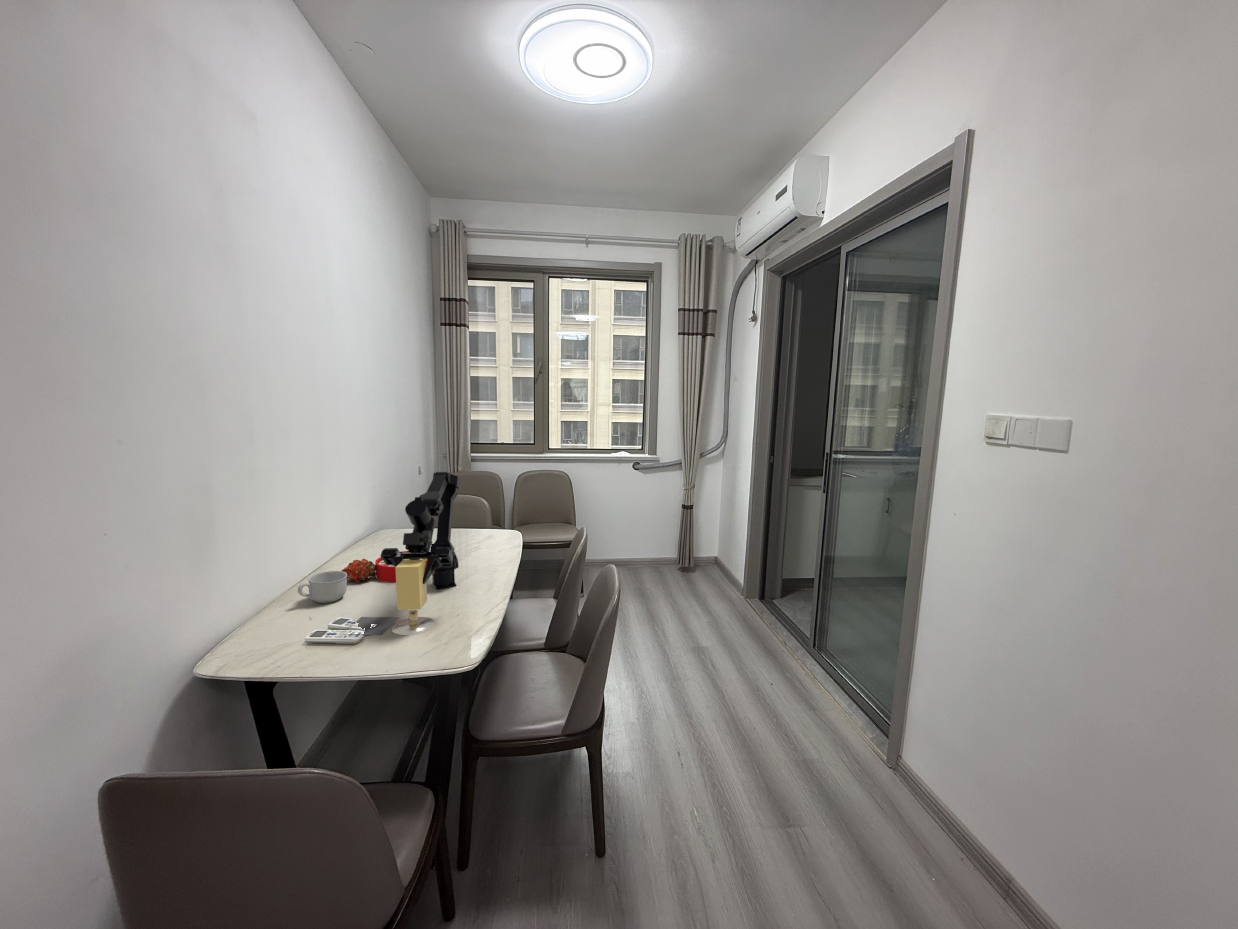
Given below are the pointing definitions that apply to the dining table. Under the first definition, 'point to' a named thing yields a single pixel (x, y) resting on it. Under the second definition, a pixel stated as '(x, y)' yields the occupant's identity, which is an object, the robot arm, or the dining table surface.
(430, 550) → the robot arm
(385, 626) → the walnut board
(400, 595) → the tan wooden brick
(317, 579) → the teacup
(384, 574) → the toy clock
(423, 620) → the silver metal disc
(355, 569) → the dragon fruit
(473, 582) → the dining table surface
